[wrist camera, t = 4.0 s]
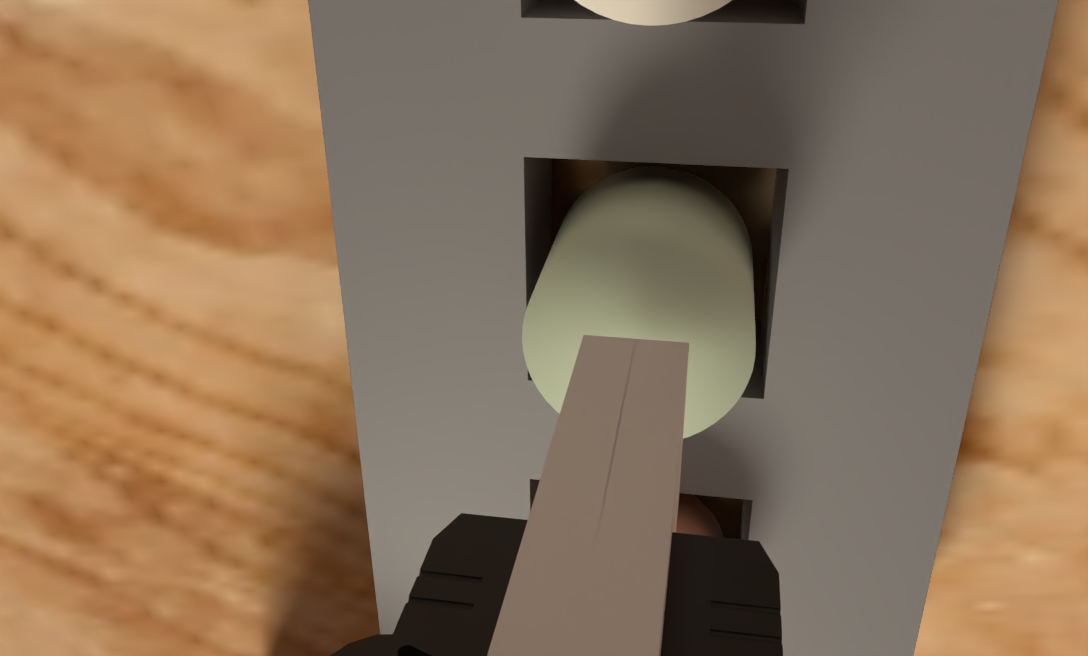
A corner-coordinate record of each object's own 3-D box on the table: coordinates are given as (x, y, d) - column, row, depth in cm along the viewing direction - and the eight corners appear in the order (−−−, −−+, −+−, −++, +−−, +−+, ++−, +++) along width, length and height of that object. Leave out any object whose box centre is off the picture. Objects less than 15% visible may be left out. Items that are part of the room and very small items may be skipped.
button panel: (338, -335, 17) (267, -359, 15) (1076, -359, 16) (1144, -391, 13) (416, 562, 27) (381, 645, 24) (884, 613, 25) (901, 708, 22)
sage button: (554, 161, 19) (519, 231, 16) (761, 171, 18) (767, 245, 15) (555, 340, 21) (523, 434, 17) (743, 354, 20) (745, 454, 17)
